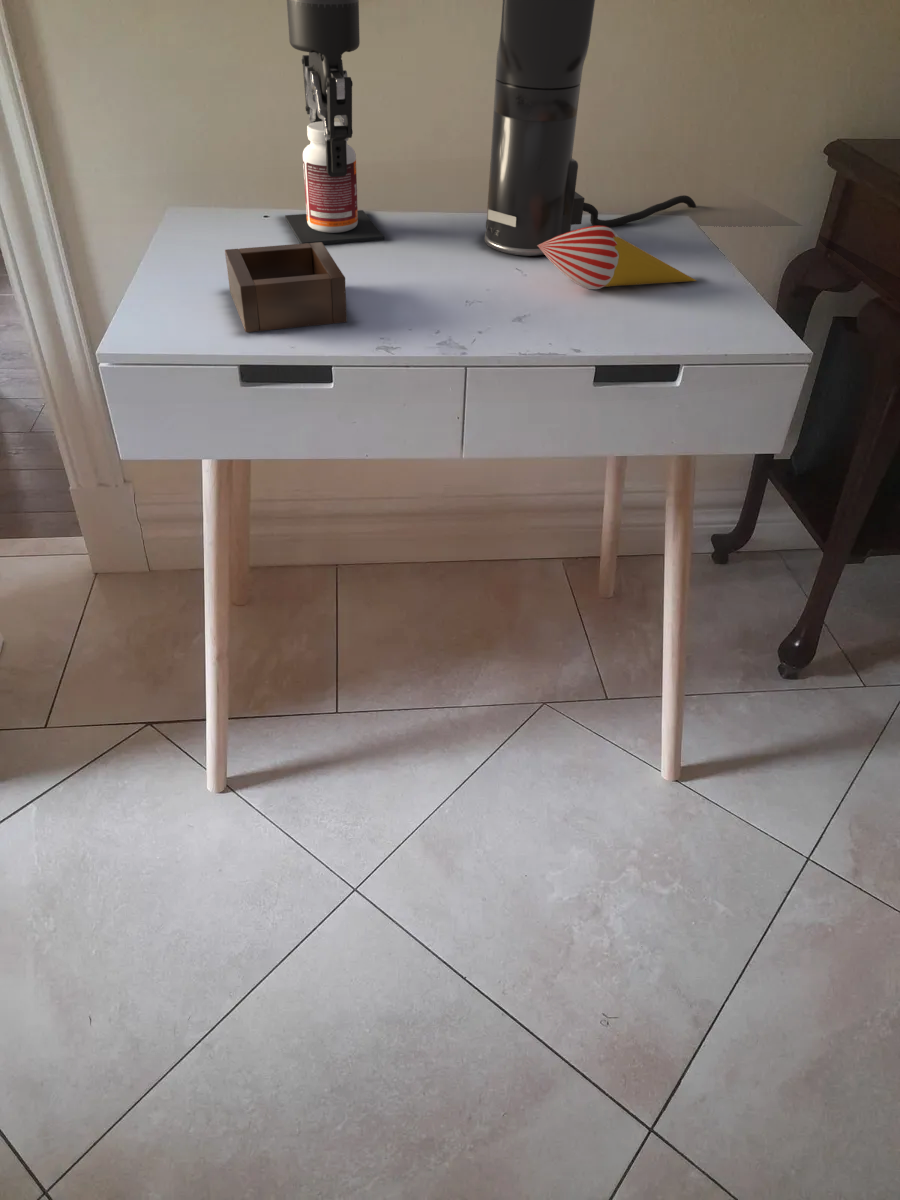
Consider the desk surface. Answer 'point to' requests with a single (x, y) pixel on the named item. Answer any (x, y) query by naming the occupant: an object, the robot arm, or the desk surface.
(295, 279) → the holder
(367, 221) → the coaster
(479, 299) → the desk surface
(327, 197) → the pill bottle
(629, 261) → the ice cream cone
